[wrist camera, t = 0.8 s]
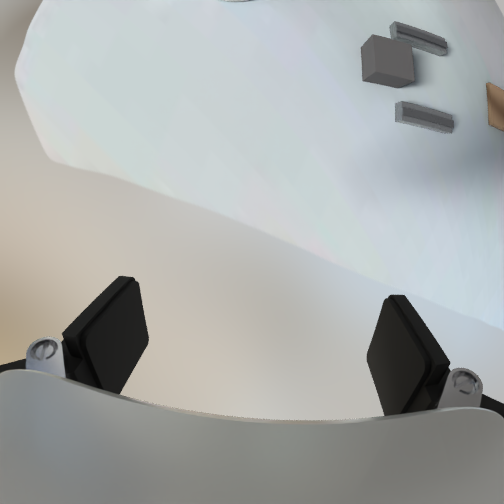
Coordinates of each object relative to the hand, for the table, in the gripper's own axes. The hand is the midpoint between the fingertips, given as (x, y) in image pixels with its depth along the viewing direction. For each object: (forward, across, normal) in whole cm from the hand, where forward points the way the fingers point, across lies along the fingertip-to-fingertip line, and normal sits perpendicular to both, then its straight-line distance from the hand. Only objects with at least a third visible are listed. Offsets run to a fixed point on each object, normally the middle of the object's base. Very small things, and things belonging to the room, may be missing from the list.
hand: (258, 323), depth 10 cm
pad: (+26, -36, -19) cm, 48 cm away
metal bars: (+26, -19, -19) cm, 37 cm away
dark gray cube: (+26, -13, -19) cm, 35 cm away
